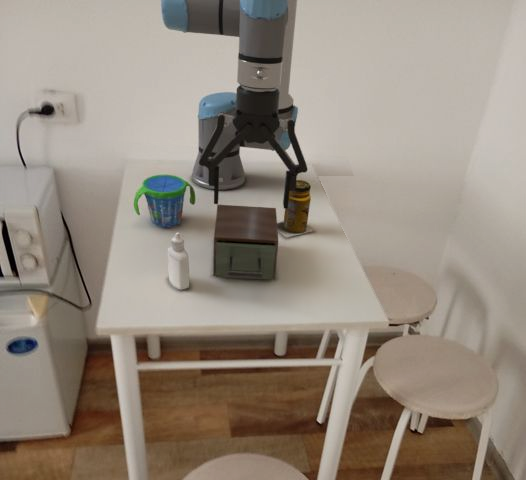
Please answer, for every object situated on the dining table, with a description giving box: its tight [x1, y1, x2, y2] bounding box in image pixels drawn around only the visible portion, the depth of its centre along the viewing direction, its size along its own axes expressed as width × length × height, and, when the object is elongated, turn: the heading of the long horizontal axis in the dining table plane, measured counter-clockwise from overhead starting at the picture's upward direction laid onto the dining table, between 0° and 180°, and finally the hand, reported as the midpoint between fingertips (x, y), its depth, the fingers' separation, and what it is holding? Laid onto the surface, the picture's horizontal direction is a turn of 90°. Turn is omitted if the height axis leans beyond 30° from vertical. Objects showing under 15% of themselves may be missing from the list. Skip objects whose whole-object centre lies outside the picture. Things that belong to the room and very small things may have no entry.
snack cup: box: [133, 174, 196, 228], centre depth 137 cm, size 16×10×10 cm
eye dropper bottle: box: [167, 231, 190, 291], centre depth 116 cm, size 4×6×12 cm
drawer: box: [215, 241, 275, 281], centre depth 122 cm, size 21×12×8 cm, turn 1°
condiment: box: [277, 179, 314, 239], centre depth 139 cm, size 7×8×12 cm
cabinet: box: [213, 204, 279, 280], centre depth 126 cm, size 16×14×10 cm
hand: (250, 203), depth 109 cm, fingers open, 13 cm apart
